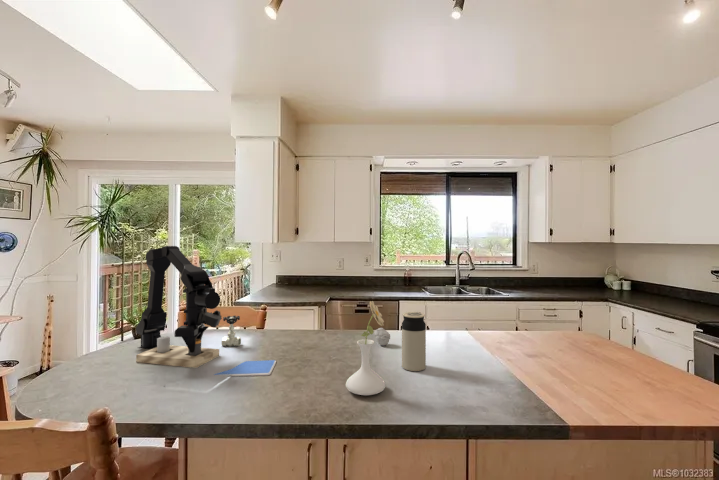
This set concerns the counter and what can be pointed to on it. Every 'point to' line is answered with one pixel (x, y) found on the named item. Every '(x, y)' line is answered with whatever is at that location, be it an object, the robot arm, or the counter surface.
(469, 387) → the counter surface
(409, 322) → the travel mug
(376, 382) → the flower in vase
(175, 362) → the wooden socket board
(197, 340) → the capped plug
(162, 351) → the grey plug
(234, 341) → the valve
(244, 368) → the tablet computer
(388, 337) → the crumpled paper ball
